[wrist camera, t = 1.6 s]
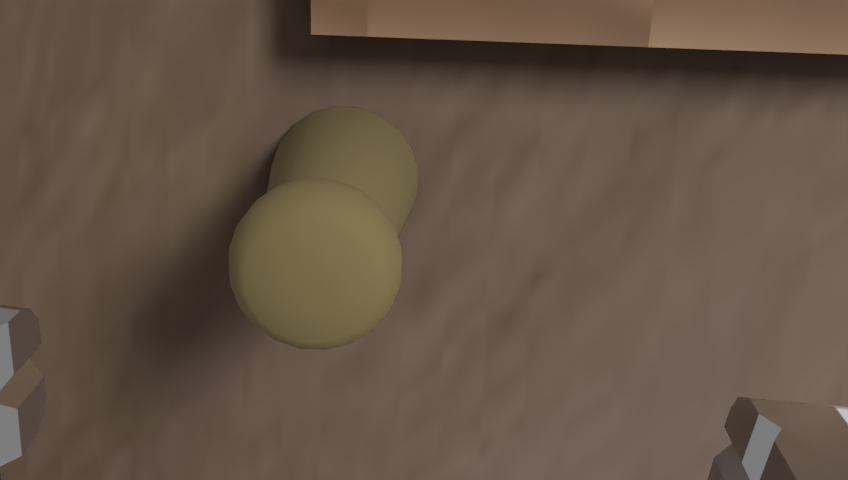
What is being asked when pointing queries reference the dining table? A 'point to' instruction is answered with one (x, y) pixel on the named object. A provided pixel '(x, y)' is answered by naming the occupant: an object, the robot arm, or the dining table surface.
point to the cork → (326, 231)
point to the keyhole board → (599, 22)
